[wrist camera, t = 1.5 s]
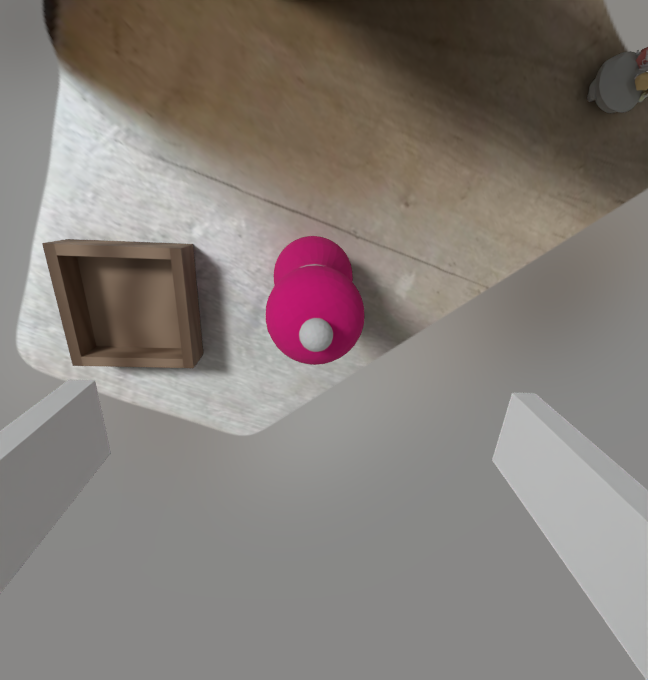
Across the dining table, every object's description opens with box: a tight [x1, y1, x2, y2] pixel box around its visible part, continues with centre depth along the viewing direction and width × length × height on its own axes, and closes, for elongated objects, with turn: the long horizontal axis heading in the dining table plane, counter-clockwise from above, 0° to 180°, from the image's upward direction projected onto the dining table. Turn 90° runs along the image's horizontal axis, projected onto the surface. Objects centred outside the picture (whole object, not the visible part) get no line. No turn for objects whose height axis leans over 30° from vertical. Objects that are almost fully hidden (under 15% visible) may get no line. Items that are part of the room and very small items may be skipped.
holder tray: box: [42, 239, 203, 368], centre depth 35 cm, size 12×12×4 cm
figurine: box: [587, 47, 648, 113], centre depth 28 cm, size 5×4×6 cm
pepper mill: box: [266, 236, 364, 365], centre depth 27 cm, size 7×7×20 cm
